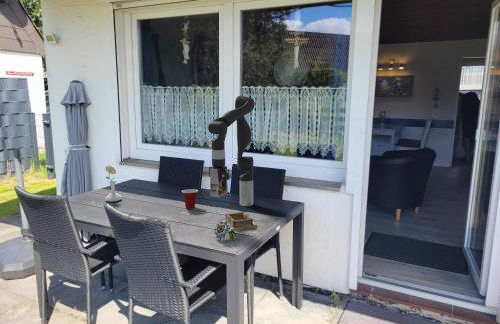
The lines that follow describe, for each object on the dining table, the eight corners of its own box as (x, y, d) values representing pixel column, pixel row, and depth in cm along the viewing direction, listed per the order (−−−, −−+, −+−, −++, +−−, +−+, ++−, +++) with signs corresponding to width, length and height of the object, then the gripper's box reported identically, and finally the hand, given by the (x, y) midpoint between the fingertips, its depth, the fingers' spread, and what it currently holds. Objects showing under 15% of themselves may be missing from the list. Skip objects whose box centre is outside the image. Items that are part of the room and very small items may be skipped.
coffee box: (219, 197, 203) (219, 169, 200) (210, 196, 206) (209, 168, 203) (228, 193, 211) (227, 166, 208) (218, 192, 214) (218, 165, 211)
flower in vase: (125, 200, 263) (123, 165, 258) (111, 203, 254) (108, 168, 249) (114, 197, 270) (112, 163, 266) (100, 200, 261) (97, 166, 257)
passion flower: (219, 250, 190) (207, 231, 191) (232, 240, 198) (219, 221, 199) (232, 243, 183) (219, 223, 183) (245, 233, 191) (232, 214, 192)
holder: (221, 221, 218) (221, 214, 217) (246, 218, 223) (246, 211, 223) (230, 230, 203) (230, 222, 202) (257, 226, 209) (257, 219, 208)
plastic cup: (198, 204, 251) (197, 187, 248) (198, 209, 240) (198, 191, 238) (182, 205, 249) (181, 188, 247) (181, 210, 238) (181, 192, 236)
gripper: (204, 156, 206) (205, 185, 210) (222, 160, 197) (223, 189, 200) (214, 155, 212) (215, 182, 215) (232, 157, 203) (233, 186, 206)
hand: (219, 185), depth 208 cm, fingers closed on coffee box, 7 cm apart
